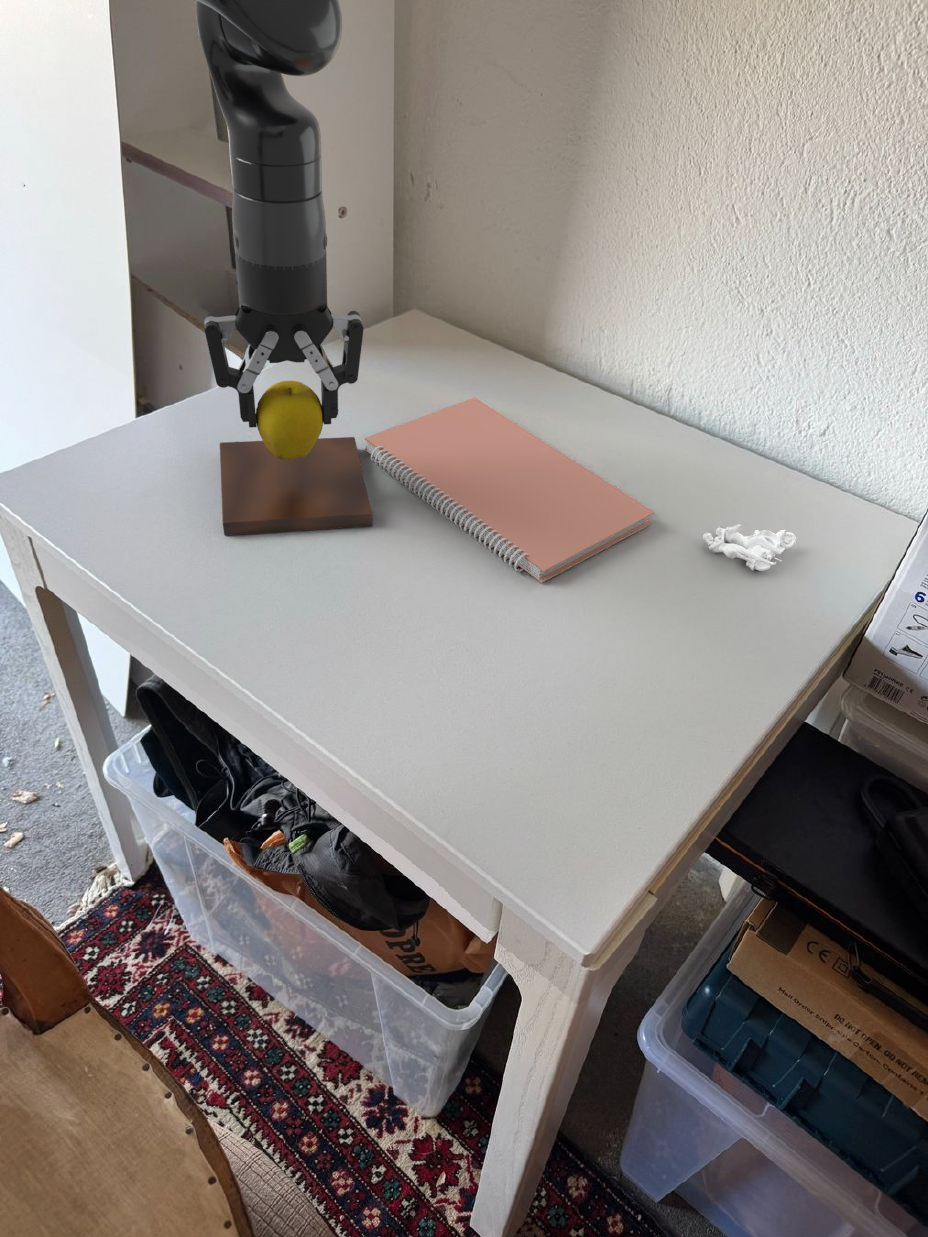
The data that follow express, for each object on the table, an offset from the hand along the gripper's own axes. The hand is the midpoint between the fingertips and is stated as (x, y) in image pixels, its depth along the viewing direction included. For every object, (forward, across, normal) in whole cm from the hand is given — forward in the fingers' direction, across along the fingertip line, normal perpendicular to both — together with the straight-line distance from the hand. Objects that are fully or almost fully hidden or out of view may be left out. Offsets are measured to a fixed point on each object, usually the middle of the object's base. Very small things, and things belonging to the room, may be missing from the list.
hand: (289, 421), depth 88 cm
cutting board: (+8, 0, 0) cm, 8 cm away
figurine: (+8, -43, +15) cm, 46 cm away
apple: (+4, 0, 0) cm, 4 cm away
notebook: (+8, -21, +2) cm, 23 cm away
